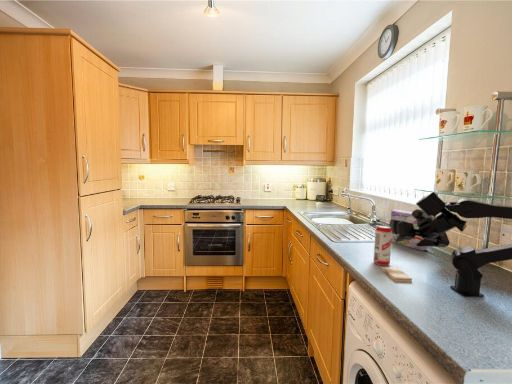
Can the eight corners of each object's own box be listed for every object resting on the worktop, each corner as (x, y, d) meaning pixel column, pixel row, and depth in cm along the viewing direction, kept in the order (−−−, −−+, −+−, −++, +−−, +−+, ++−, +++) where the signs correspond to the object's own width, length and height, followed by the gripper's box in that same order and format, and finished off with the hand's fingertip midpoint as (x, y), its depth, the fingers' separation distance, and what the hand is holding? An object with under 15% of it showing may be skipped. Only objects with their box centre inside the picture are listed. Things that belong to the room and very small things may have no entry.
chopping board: (411, 281, 94) (412, 278, 94) (394, 281, 94) (395, 278, 94) (397, 270, 104) (397, 267, 104) (381, 270, 104) (382, 267, 104)
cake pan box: (387, 240, 144) (389, 209, 142) (394, 239, 146) (396, 208, 144) (421, 251, 127) (424, 215, 125) (428, 250, 129) (431, 215, 127)
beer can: (370, 261, 113) (372, 225, 111) (381, 260, 115) (383, 224, 113) (381, 267, 107) (384, 228, 105) (393, 265, 109) (396, 227, 107)
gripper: (454, 211, 97) (421, 229, 109) (410, 199, 94) (382, 220, 106) (465, 238, 90) (429, 255, 102) (419, 227, 87) (387, 245, 99)
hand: (407, 243), depth 103 cm, fingers open, 9 cm apart
